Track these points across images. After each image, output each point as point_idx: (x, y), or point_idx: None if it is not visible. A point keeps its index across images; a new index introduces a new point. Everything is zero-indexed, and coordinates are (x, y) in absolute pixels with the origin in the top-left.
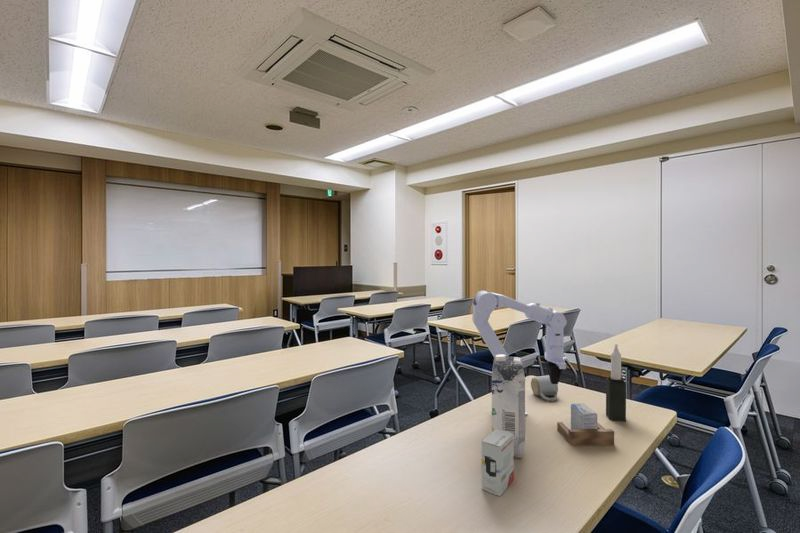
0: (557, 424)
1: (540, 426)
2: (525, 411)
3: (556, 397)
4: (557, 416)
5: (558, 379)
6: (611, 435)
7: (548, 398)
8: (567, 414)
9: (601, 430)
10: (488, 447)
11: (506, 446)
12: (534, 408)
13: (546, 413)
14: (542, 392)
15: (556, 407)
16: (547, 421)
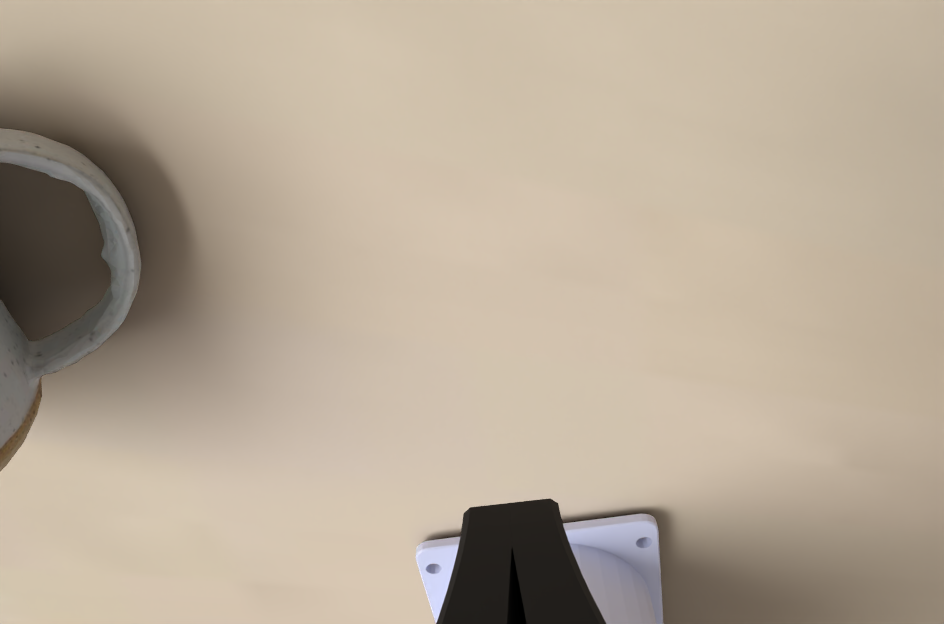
0: None
1: (909, 440)
2: (594, 530)
3: (58, 154)
4: (663, 237)
5: (582, 589)
6: None
7: (140, 271)
8: (591, 93)
9: None
10: None
11: None
12: (444, 429)
13: (578, 338)
14: (23, 353)
15: (354, 186)
16: (800, 364)
